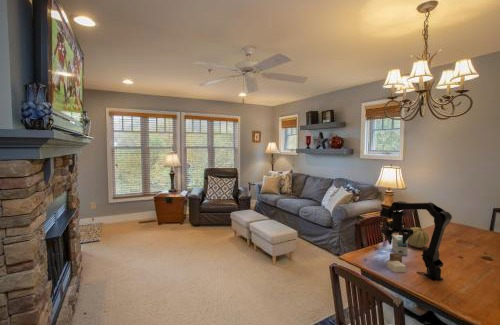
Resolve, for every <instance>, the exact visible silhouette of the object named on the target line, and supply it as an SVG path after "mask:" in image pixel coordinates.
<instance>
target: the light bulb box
mask: <svg viewBox="0 0 500 325" xmlns="http://www.w3.org/2000/svg"><path fill="white" fill-rule="evenodd" d="M402 238H403V235H402V234H401V235H400V234H399V235H398V234H392V242H391V247H392V248H391V249H392V250H393V251H394V253H398V254H399V255H401V256H408V244H409V243H408V240H407V241H406V242H405V244H403V243H402Z"/></svg>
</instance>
